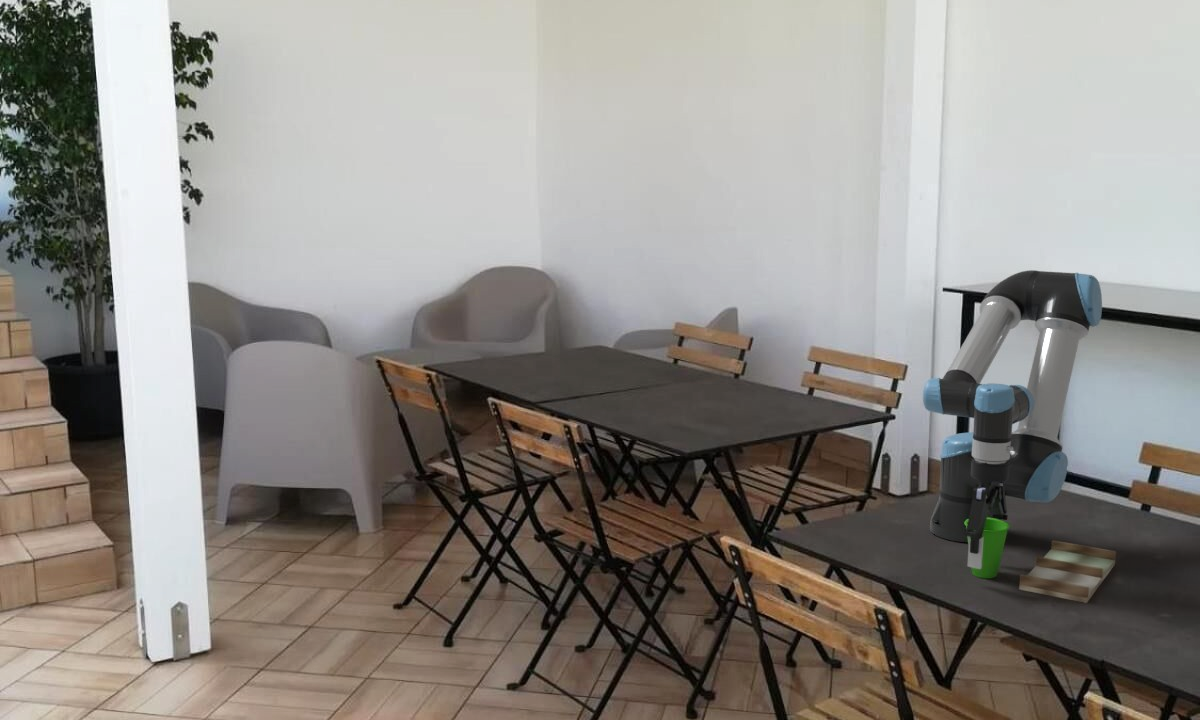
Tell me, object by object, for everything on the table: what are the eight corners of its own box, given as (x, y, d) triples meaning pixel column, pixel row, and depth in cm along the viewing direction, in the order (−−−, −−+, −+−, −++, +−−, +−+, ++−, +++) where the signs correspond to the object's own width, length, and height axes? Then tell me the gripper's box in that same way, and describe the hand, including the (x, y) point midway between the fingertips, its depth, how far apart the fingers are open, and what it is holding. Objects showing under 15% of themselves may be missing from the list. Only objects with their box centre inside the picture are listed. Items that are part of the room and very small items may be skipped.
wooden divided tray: (1019, 589, 244) (1020, 575, 243) (1051, 553, 264) (1052, 540, 264) (1086, 602, 236) (1087, 588, 236) (1114, 564, 257) (1115, 551, 257)
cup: (1001, 566, 256) (1004, 517, 254) (1011, 582, 247) (1014, 531, 245) (958, 565, 257) (960, 516, 255) (966, 581, 248) (969, 530, 246)
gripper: (990, 475, 235) (984, 579, 239) (1026, 449, 256) (1019, 545, 259) (953, 469, 240) (947, 571, 243) (990, 444, 260) (984, 539, 264)
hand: (984, 558), depth 251 cm, fingers open, 13 cm apart
